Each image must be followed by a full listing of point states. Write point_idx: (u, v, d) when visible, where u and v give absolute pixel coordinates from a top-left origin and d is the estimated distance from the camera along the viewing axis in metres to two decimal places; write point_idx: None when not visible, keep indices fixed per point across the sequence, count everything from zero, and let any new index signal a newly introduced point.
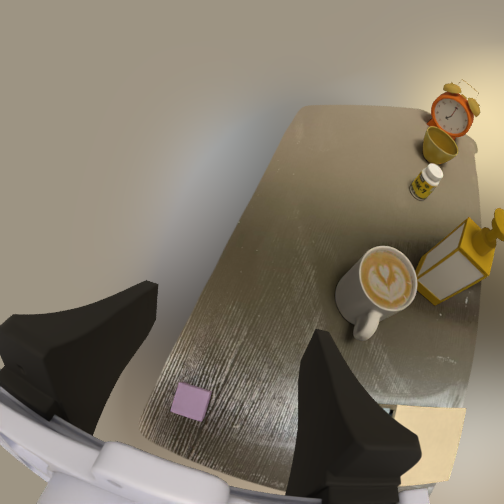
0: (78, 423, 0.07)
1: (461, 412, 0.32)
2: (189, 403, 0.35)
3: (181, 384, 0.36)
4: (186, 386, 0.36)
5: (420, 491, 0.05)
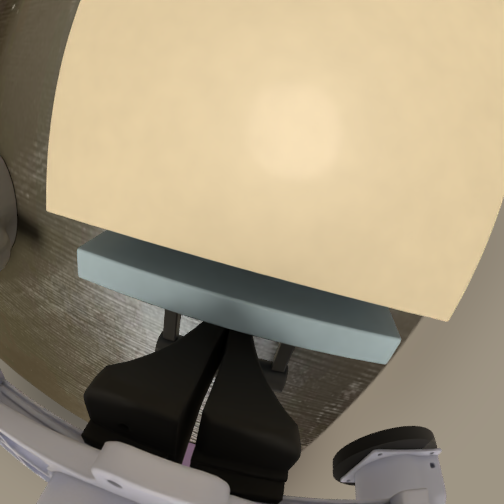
0: None
1: None
2: None
3: None
4: None
5: (420, 491, 0.05)
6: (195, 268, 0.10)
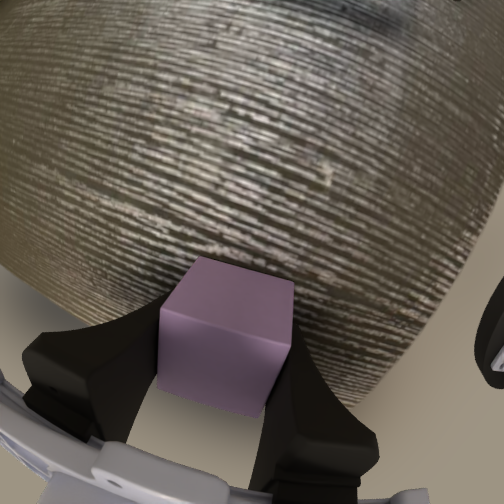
0: (112, 441, 0.07)
1: None
2: (220, 376, 0.10)
3: (160, 384, 0.11)
4: (161, 373, 0.10)
5: (420, 491, 0.05)
6: None
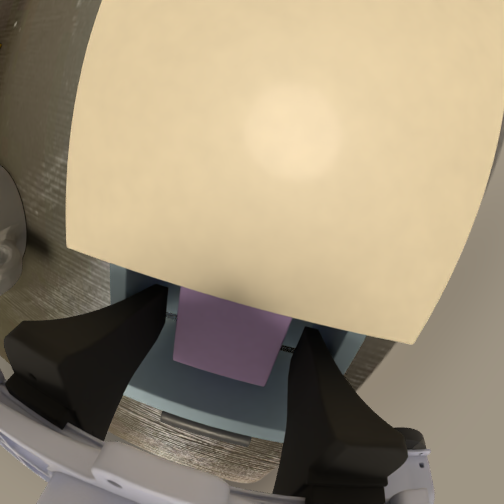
0: (90, 430, 0.07)
1: None
2: (232, 344, 0.12)
3: (176, 355, 0.13)
4: (177, 344, 0.12)
5: (420, 491, 0.05)
6: (184, 388, 0.14)
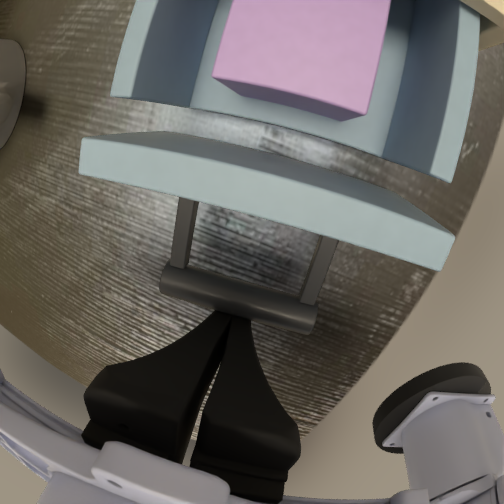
0: None
1: None
2: (314, 27, 0.06)
3: (220, 64, 0.07)
4: (226, 41, 0.07)
5: (420, 491, 0.05)
6: (218, 155, 0.08)
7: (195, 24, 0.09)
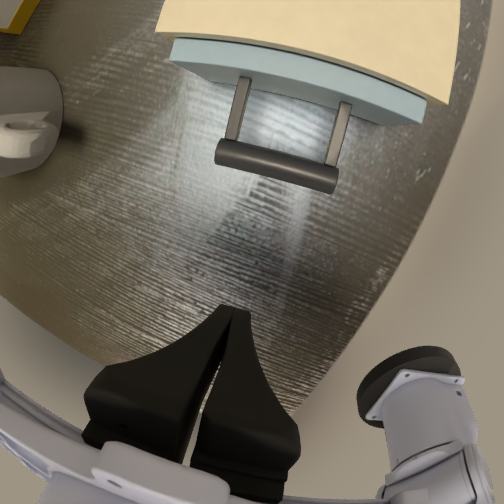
0: None
1: None
2: None
3: None
4: None
5: (420, 491, 0.05)
6: None
7: None
